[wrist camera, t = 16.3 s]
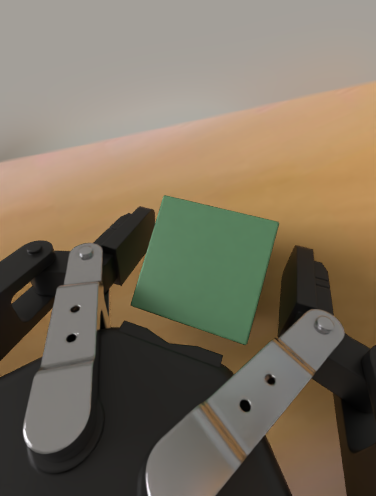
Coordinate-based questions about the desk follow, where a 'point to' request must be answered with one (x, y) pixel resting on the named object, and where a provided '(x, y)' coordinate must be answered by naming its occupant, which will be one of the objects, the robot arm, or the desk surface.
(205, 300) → the green block
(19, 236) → the desk surface
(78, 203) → the desk surface
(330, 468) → the desk surface
